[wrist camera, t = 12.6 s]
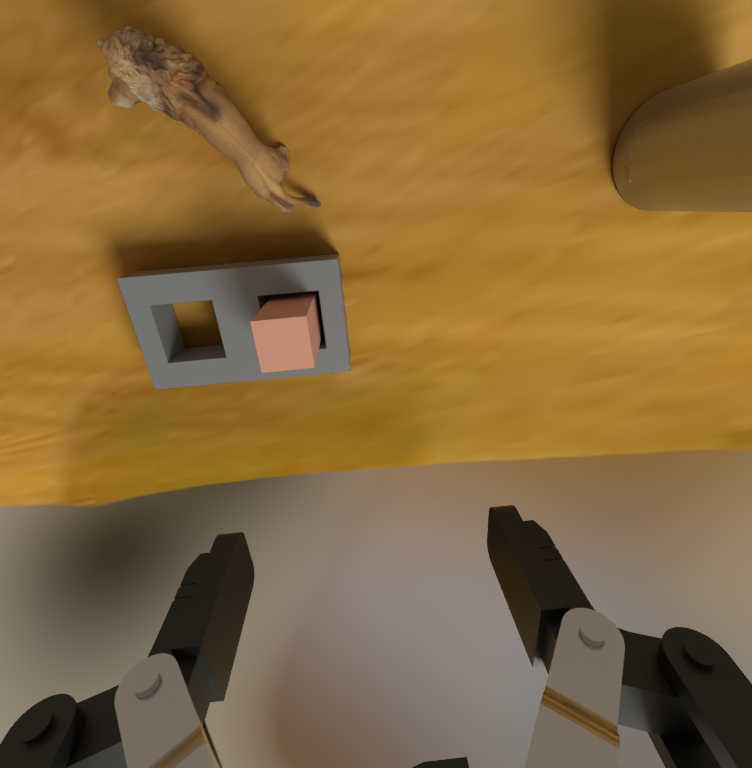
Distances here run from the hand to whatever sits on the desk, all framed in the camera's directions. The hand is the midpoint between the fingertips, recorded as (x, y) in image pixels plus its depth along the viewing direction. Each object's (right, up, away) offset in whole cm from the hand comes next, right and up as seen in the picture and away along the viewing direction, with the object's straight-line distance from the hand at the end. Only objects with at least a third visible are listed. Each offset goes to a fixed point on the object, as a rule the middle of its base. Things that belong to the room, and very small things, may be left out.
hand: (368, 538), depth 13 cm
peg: (-7, +12, +25) cm, 29 cm away
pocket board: (-12, +12, +25) cm, 30 cm away
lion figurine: (-11, +25, +19) cm, 33 cm away
